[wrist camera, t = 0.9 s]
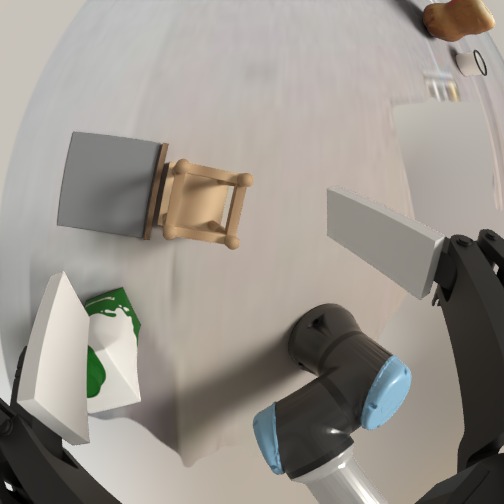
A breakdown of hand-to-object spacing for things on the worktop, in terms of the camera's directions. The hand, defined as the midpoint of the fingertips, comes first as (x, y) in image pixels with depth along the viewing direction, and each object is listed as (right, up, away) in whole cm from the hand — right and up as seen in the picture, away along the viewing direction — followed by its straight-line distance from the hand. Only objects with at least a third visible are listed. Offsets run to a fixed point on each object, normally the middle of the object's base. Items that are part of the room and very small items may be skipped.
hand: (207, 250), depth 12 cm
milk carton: (-20, -10, +27) cm, 35 cm away
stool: (-7, +8, +27) cm, 29 cm away
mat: (-19, +10, +22) cm, 31 cm away
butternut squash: (+54, +67, +33) cm, 92 cm away
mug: (+74, +64, +40) cm, 106 cm away
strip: (-12, +9, +25) cm, 29 cm away
